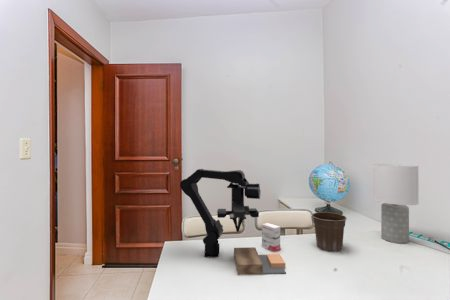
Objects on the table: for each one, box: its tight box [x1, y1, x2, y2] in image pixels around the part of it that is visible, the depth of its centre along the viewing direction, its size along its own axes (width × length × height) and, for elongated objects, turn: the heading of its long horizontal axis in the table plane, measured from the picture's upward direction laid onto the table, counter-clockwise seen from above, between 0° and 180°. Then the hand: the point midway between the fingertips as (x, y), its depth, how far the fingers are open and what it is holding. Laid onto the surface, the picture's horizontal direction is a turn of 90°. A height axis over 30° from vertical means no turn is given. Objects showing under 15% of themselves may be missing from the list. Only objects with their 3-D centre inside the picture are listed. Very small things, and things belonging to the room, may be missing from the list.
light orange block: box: [265, 253, 286, 269], centre depth 105 cm, size 6×9×2 cm, turn 2°
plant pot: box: [311, 211, 347, 253], centre depth 124 cm, size 16×16×16 cm
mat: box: [258, 254, 287, 275], centre depth 105 cm, size 10×17×1 cm, turn 3°
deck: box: [233, 246, 264, 276], centre depth 105 cm, size 10×17×4 cm, turn 3°
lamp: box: [372, 163, 419, 245], centre depth 135 cm, size 21×21×42 cm
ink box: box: [261, 222, 281, 253], centre depth 122 cm, size 8×5×12 cm, turn 39°
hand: (237, 231), depth 111 cm, fingers closed
